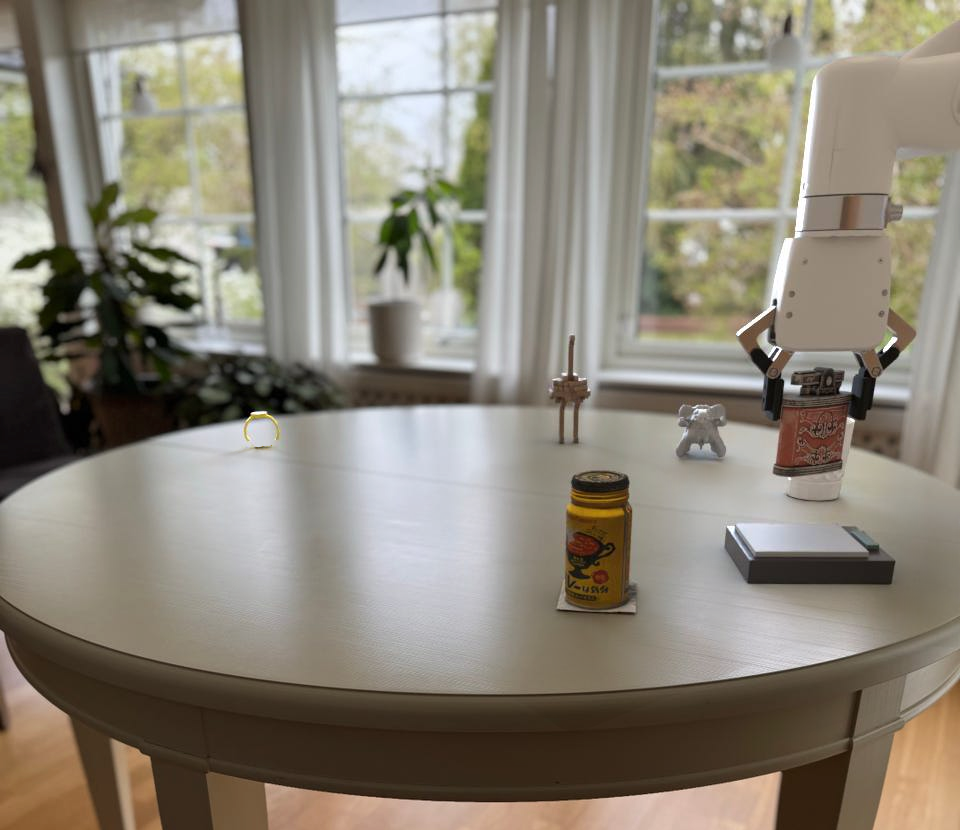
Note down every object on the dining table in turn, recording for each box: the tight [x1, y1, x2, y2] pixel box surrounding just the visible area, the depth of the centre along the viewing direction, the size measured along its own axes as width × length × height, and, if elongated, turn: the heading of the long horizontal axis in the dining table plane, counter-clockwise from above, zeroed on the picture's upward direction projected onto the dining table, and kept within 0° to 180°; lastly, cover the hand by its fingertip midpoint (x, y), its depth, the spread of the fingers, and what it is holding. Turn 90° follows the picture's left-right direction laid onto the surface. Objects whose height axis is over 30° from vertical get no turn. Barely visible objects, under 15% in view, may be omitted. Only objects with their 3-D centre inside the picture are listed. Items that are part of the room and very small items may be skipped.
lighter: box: [772, 366, 853, 478], centre depth 87 cm, size 8×3×10 cm, turn 116°
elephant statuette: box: [675, 403, 728, 459], centre depth 143 cm, size 9×12×8 cm
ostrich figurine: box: [548, 333, 592, 444], centre depth 156 cm, size 17×7×18 cm, turn 1°
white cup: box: [785, 416, 856, 502], centre depth 117 cm, size 8×8×10 cm
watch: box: [243, 411, 281, 442], centre depth 154 cm, size 6×3×6 cm, turn 103°
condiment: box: [556, 470, 638, 613], centre depth 83 cm, size 7×8×12 cm
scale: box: [724, 522, 896, 585], centre depth 92 cm, size 14×12×3 cm
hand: (814, 417), depth 87 cm, fingers closed on lighter, 7 cm apart
